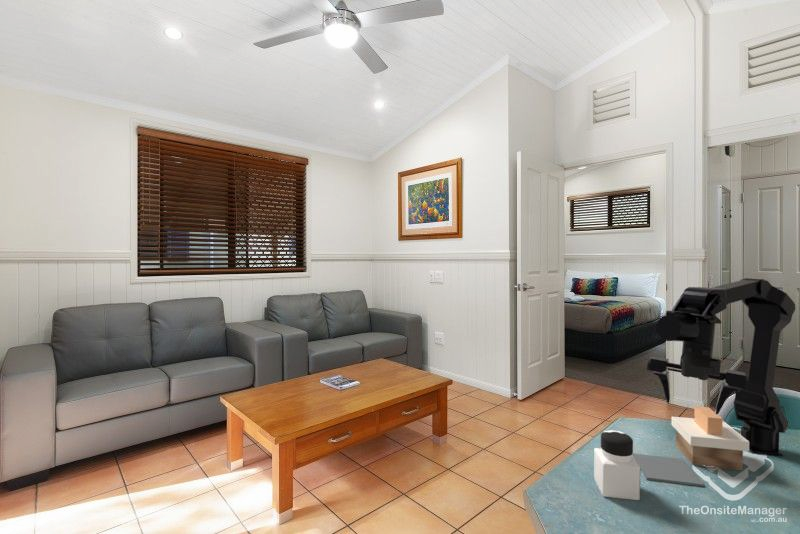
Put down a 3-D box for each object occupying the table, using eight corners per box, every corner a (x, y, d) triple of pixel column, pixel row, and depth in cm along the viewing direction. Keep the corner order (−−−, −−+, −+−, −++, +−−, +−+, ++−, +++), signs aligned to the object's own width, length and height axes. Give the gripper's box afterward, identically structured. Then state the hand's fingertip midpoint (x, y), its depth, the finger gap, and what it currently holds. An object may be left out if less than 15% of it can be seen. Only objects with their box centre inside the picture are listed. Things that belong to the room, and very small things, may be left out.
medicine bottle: (640, 501, 83) (641, 443, 82) (602, 497, 84) (603, 440, 84) (628, 481, 90) (629, 428, 89) (593, 478, 91) (594, 425, 91)
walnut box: (720, 449, 103) (721, 426, 103) (742, 470, 94) (743, 444, 93) (675, 445, 106) (676, 422, 106) (692, 464, 96) (693, 440, 96)
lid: (723, 429, 104) (723, 405, 103) (749, 451, 93) (749, 424, 92) (671, 424, 107) (671, 401, 106) (690, 445, 95) (691, 419, 95)
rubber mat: (682, 460, 98) (682, 458, 98) (703, 486, 88) (703, 484, 87) (632, 455, 101) (632, 453, 101) (646, 479, 90) (646, 477, 90)
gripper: (647, 337, 94) (641, 404, 94) (754, 354, 82) (746, 430, 83) (652, 333, 103) (647, 394, 103) (749, 347, 91) (743, 416, 91)
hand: (691, 408), depth 95 cm, fingers open, 9 cm apart
